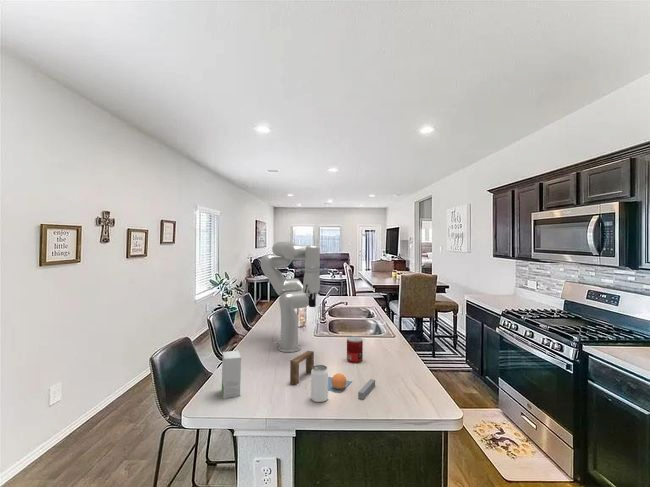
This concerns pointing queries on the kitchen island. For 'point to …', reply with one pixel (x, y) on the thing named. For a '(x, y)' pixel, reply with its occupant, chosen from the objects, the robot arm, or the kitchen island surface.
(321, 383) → the can
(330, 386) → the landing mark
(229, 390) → the skincare box
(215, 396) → the kitchen island surface
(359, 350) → the canned food
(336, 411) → the kitchen island surface
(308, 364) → the bridge
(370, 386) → the stopper
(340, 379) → the ball
